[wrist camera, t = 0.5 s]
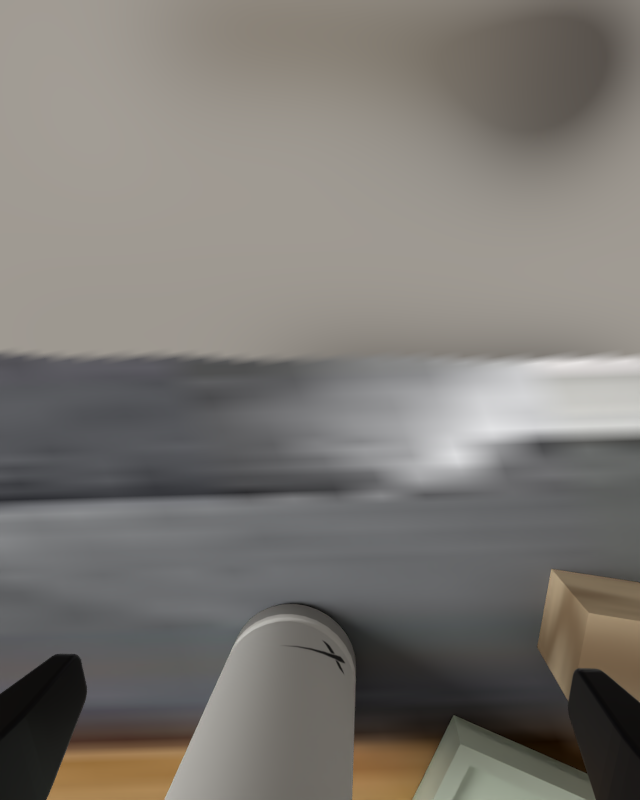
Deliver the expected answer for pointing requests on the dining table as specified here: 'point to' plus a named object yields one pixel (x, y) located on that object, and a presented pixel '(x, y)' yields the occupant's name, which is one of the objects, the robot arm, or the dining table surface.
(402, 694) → the dining table surface
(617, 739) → the robot arm
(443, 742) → the dish
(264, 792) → the travel mug
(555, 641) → the oak cube
